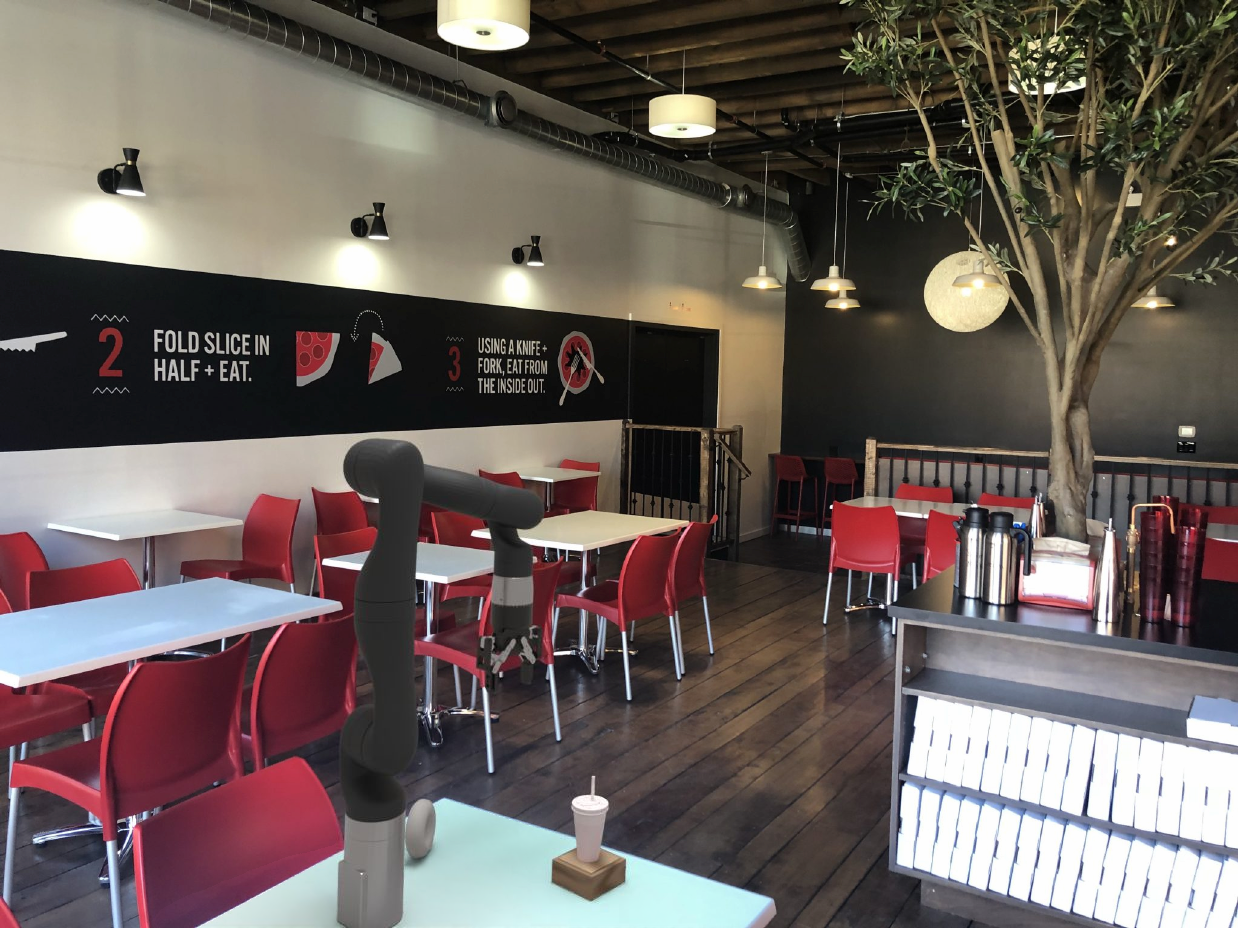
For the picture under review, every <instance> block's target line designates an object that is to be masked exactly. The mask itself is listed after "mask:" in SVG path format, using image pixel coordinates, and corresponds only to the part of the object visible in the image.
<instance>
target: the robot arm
mask: <svg viewBox="0 0 1238 928" xmlns="http://www.w3.org/2000/svg"><path fill="white" fill-rule="evenodd" d="M342 472H343V473H342V474H343V477H344V480H345V482H346V484H347V485H348V486H349V487H350V488H351V489H352V490H353V491H354V492H356V493H357V494H359V495H361V496H364V497H367V498H370V499H371V498H372V499H378V524H377V525H378V526H377V532H376V536H375V540H374V543H373V545H372V547H371V549H370V551H369V553H368V555H367V557H366V559H365V561H364V562H363V565H362V566H361V569H360V571H359V572H358V575H357V578H356V582H355V586H354V596H353V597H354V598H353V599H354V600H353V628H354V632H355V633H354V634H355V637H356V640H357V644H358V646H359V649H360V652H361V655H362V657H363V660H364V662H365V665H366V667H367V670H368V672H369V676H370V679H371V684H372V691H373V703H372V704H369V703H367V704H363V705H360V706H358V707H356V708H355V709H353V710H352V711H351V712H350V713H349V714H348V716H347V718H346V719H345V721H344V724H343V725H342V728H341V732H340V737H339V746H338V747H339V749H338V752H339V754H338V756H339V759H338V760H339V789H340V793H341V797H342V799H343V801H344V842H343V843H344V844H343V845H344V846H343V848H344V849H343V859H341V860H339V862H338V864H337V901H336V902H337V905H336V906H337V907H336V921H337V922H339V923H340V924H342V925H343V926H345V927H347V928H392V927H393V926H395V925H397V924H398V923H399V922H400V921H401V919H402V918H403V915H404V884H405V883H404V882H405V855H406V854H405V850H406V849H405V848H406V844H405V830H406V821H407V820H406V819H407V818H406V816H407V814H406V813H407V809H406V808H407V794H406V789H404V787H403V785H402V784H401V783H400V782H399V781H398V780H397V778H396V776H398V775H400V774H401V773H403V772H404V771H406V769H408V768H409V766H410V765H411V763H412V762H413V760H414V757H415V754H416V752H417V749H418V742H419V720H418V709H417V708H418V706H417V695H416V682H415V679H416V678H415V630H416V628H415V627H416V615H417V614H416V611H417V608H416V607H417V582H416V581H417V577H416V576H417V559H418V557H417V555H418V537H419V535H418V534H419V526H420V518H421V510H422V503H424V504H426V505H427V504H428V505H430V506H434V507H437V508H440V509H444V510H447V511H449V512H453V513H457V514H460V515H462V516H466V517H470V518H472V519H473V518H474V519H478V520H483V521H487V526H488V529H489V535H490V539H491V544H492V547H493V552H494V554H493V576H492V583H491V595H490V596H491V597H490V599H491V600H490V625H491V626H492V633H491V635H489V636H484V635H479V636H478V638H477V646H476V648H477V651H476V661H475V669H477V670H480V671H483V672H484V689H485V691H486V692H487V693H488V694H497V693H498V686H499V685H498V684H499V681H498V680H499V672H498V671H499V669H500V667H501V665H502V664H503V663H505V661H506V660H507V658H510V657H513V656H514V655H515V656H519V658H520V659H521V661H522V662H521V663H520V683H522V684H524V685H531V684H532V680H533V677H534V664H535V662H536V661H537V660H540V659H542V658H543V627H541V626H538V625H532V624H533V613H534V612H533V609H534V579H533V572H534V571H533V570H534V548H533V546H532V545H531V544H530V543H528V542H527V541H525V540H523V539H522V538H520V536H519V533H518V530H523V531H525V530H527V531H528V530H532V529H535V528H537V526H539V525H540V524H541V522H542V520H543V519H544V516H545V505H544V501H543V499H542V498H541V497H540V495H538V494H537V493H536V492H534V491H532V490H529V489H526V488H522V487H516V486H512V485H506V484H501V483H498V482H497V481H496V482H495V481H493V480H491V479H489V478H485V477H482V476H479V475H476V474H472V473H469V472H465V471H461V470H457V469H456V470H455V469H451V468H445V467H441V466H435V465H431V464H427V463H424V459H423V455H422V453H421V451H420V449H419V448H418V447H417V446H416V445H415V444H414V443H413V442H411V441H407V440H403V439H390V438H389V439H388V438H379V437H375V438H367V439H362V440H360V441H358V442H356V443H354V444H353V445H352V446H351V447H349V449H348V450H347V452H346V454H345V455H344V459H343V465H342Z"/></svg>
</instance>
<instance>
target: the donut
mask: <svg viewBox="0 0 1238 928" xmlns="http://www.w3.org/2000/svg"><path fill="white" fill-rule="evenodd" d="M436 814H437V813H436V809H435V806H434V804H433V802H432V801H431V800H429V799H425V798H420V799H418V800H417V801H416V802H415V803H413V804H412V807H411V808H410V811H409V814H408V815H407V818H406V819H407V820H406V823H405V848H406V849H405V850H406V852H407V853H408V855H409V856H410V857H411V858H413V859H422V858H424V857H425V856H426V855H427V854H428V853H429V851H430V849H431V847H432V845H433V842H434V837H435V833H436V828H437V827H436V823H437V815H436Z"/></svg>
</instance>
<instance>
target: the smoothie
mask: <svg viewBox="0 0 1238 928" xmlns="http://www.w3.org/2000/svg"><path fill="white" fill-rule="evenodd" d="M595 784H596V776H595V775H592V776H591V786H590V787H591V790H590V791H591V792H590V794H586V795H579V796H576V797H574V798H573V800H572V801H571V807H570V808H571V810H572V811H573V821H574V822H573V823H574V833H575V843H576V847H577V857H578V859H579V860H580V861H583V862H595V861H597V860H598V859H599V854H600V848H601V847H602V840H603V836H604V835H603V834H604V828H605V821H606V818H607V817H606V816H607V812H608V811H609V807H610V806H609V801H608V799H606V798H604V797H602V796H601V795H600V796H599V795H595V792H596V791H595V788H596V787H595V786H596V785H595Z"/></svg>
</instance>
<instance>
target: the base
mask: <svg viewBox="0 0 1238 928" xmlns="http://www.w3.org/2000/svg"><path fill="white" fill-rule="evenodd" d="M626 871H627V858H625V857H623V856H620V855H618V854H616V853H613V852H610V851H608V850H607V849H603V848H600V854H599V859H598V860H597V861H595V862H583V861H580V860H579V859H578V857H577V846H576V847H574V848H572V849H571V850H568V851H567V852H565V853H562V854H561V855H558V856H557V857H554V858H553V859H552V860H551V880H550V881H551V884H555V885H557V886H559V887H561V888H563V889H565V890H567V891H568V892H571V893H573V894H575V895H578V896H580V897H581V898H584V899H585V900H588V901H590V902H592V901H594V900H595V899H597V898H599V897H601V896H602V895H604V894H606V893H607V892H610V891H611V890H613V889H614V888H616V887H618V886H620V885H622V884H624V883H626V875H627V874H626ZM623 882H624V883H623Z"/></svg>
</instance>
